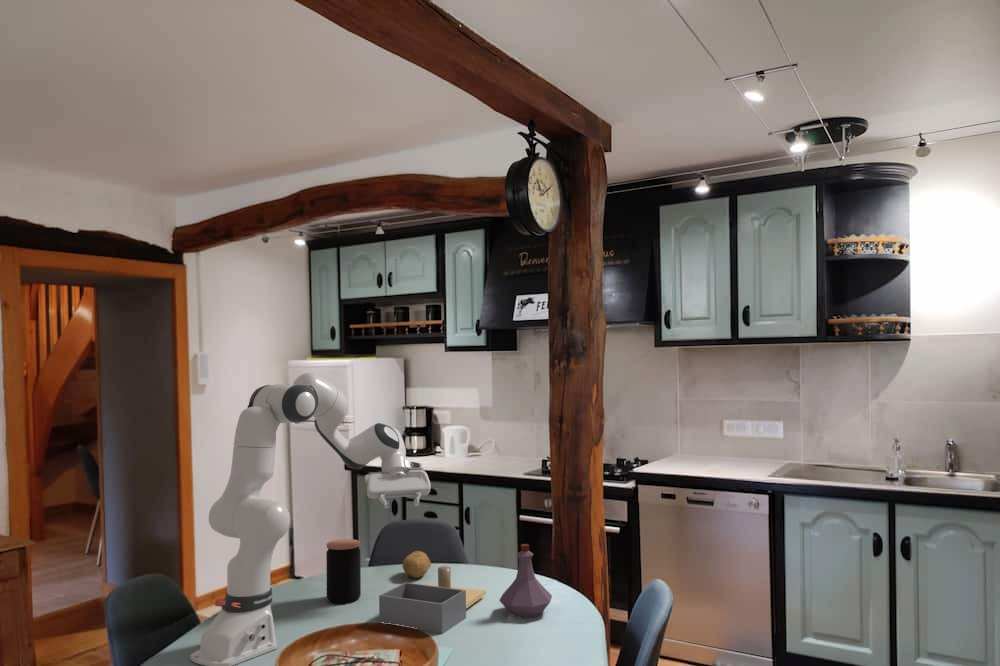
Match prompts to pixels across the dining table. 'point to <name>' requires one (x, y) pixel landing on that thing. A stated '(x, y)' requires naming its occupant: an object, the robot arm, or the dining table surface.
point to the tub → (423, 607)
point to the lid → (445, 581)
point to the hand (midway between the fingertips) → (402, 506)
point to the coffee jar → (343, 571)
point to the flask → (525, 590)
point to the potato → (416, 564)
